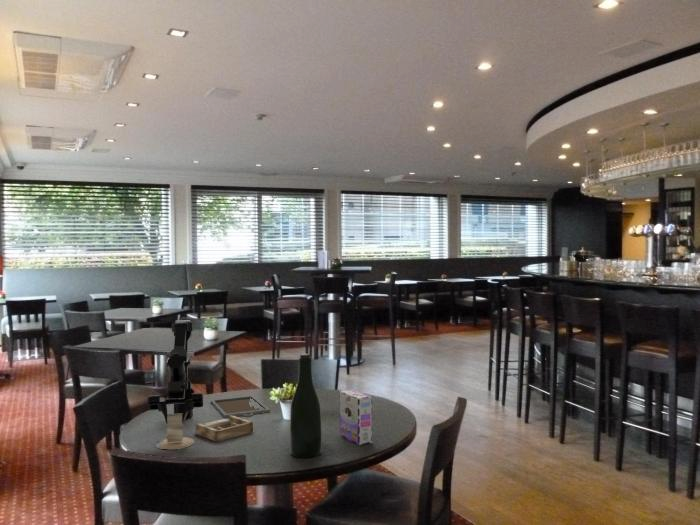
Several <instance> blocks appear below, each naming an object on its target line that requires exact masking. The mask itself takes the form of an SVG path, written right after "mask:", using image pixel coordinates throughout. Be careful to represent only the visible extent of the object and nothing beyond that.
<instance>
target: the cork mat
mask: <svg viewBox="0 0 700 525" xmlns="http://www.w3.org/2000/svg"><path fill="white" fill-rule="evenodd" d="M162 440H163V441H164V442H162V443H161V444H160V445H161V446H159V447H158V448H160V449H159V450H161V449H178V450H181V449H180V448H183V449H186V448H185V447H187V448H189V446H190V447H191V445H192V444H193V443H194V444H195V440H194V439H193V438H190V437H186V436H185V437H184V436H183V441H180V442H170V443H169V442H167V438H165V439H162ZM194 444H193V445H194ZM193 445H192V446H193ZM158 448H157V449H158Z"/></svg>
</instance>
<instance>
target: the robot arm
mask: <svg viewBox="0 0 700 525" xmlns="http://www.w3.org/2000/svg"><path fill="white" fill-rule="evenodd" d="M193 332H194V322H191V320H187V319H186V320H184V319H183V320H175V322H172V323H171V333H173V336H174V343H173V349H172V350H170V352H169V357H167V359H166V362H165V363H166V368H167V369H168V375H169V379H168V382H167V390H166V396H167V397H161V396H160V395H161V394H155V395H154V394H153V395H148V397H147V407H148V410H150V411H158V412H161V413H162V414H163V417H164V422H165V423H166V425H167V415H168V406H167V405H173V414H178V413H183V415H182V423H183V424H184V422H185V420H188V419H189V418H191V417H192V416H193V415H194V412H193V411H194V408H203V407H204V394H203V393H202V392H195V391H196V390H194V387H192V382H191V381H190V379H189V377H188V374H189V373H188V372H189V370H188V367H190V365H191V362H192V360H191V359H190V358H191V357H189V354H188V353H189V351H188V350H189V348H188V347H189V341H190V339H191V338H192V336H193Z"/></svg>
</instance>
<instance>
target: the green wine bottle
mask: <svg viewBox="0 0 700 525" xmlns="http://www.w3.org/2000/svg"><path fill="white" fill-rule="evenodd" d="M312 364H313V359H312V357H311V354H310V353H301V354H300V355H299V358H298V378H297V379H298V380H297V384H296V388H295V391H294V393H293V396H292V399H291V404H290V412H289V413H290V415H289V417H290V418H289V420H290V422H289V452H290V454H291V455H292V457H293V456H294V457H296V458H303V459H304V458H313V457H317V456H319V455H321V453H322V449H323V448H322V445H323V444H322V440H323V439H322V435H323V434H322V408H321V401H320V398H319V395H318V393H317V390H316V387H315V384H314V379H313V370H312V369H313V368H312Z"/></svg>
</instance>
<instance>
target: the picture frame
mask: <svg viewBox="0 0 700 525" xmlns="http://www.w3.org/2000/svg"><path fill="white" fill-rule="evenodd" d="M250 398H251V399H253V400H254V401H255V402H257V403H258V404H259V405H260V406H261V407H263V408H264V409H263V410H259V408H257V409H255V408H254V406H252V407H250V405H249V401H250ZM250 402H251V401H250ZM210 403H211V405H212V406H213V408H215V409H216V410H217V412H219V414H221V416H222V417H223V418H224V419H229V416H230V415H232V416H236V417H246V418H249V417H253V416H254V415H258V414H257V413H260V414H264V413H263V412H268V413H271V410H270V408H269V407H268V406H266V405H265V404H263V403H262V402H261V401H260V400H259V399H257V398H256V397H255V396H254V395H245V396H234V397H226V398H217V399H211V400H210ZM253 414H254V415H253Z"/></svg>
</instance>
